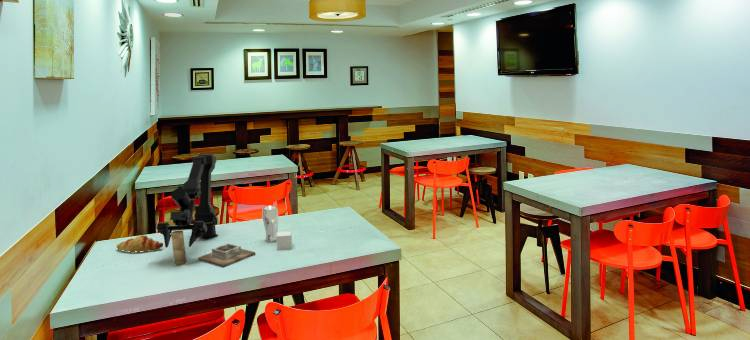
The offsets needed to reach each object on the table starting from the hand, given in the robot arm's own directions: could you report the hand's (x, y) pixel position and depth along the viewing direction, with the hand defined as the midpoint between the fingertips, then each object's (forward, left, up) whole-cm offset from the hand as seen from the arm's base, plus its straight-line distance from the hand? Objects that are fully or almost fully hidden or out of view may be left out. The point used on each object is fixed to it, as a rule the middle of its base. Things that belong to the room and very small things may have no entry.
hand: (177, 246), depth 185 cm
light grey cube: (-36, +22, -7) cm, 43 cm away
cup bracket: (-15, +10, -7) cm, 19 cm away
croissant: (-1, -31, -8) cm, 32 cm away
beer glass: (-40, +10, -7) cm, 42 cm away
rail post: (-1, -1, -7) cm, 7 cm away
